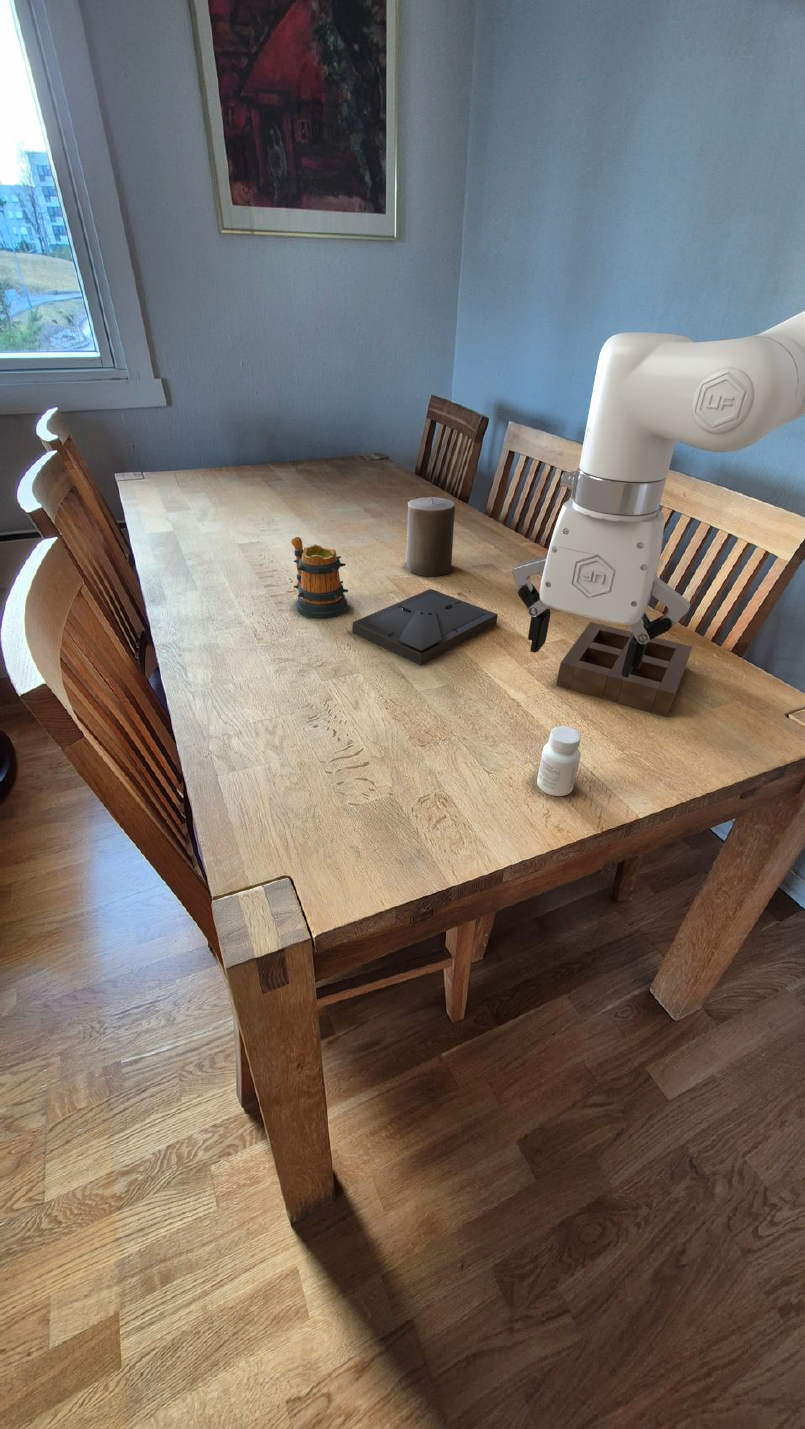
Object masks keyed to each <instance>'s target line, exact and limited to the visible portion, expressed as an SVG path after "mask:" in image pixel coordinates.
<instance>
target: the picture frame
mask: <svg viewBox="0 0 805 1429" xmlns="http://www.w3.org/2000/svg"><path fill="white" fill-rule="evenodd" d="M498 617H499V616H498V613H495V612H493V611H490V610H488V609H485V608H483V607H479V606H477V605H475V604H472V603H469V602H467V601H463V600H461V599H459V598H456V597H453V596H451V595H449V594H445V593H443V592H440V591H438V590H435V589H433V588H429V589H426V590H424V591H422V592H420V593H418V594H415V595H412V596H410V597H408V598H406V599H403V600H401V601H399V602H396V603H393V604H392V605H389V606H386V607H384V608H382V609H380V610H377V611H375V612H372V613H371V614H368V615H366V616H363V617H361V618H359V619H357V620H354V621H352V622H351V628H352V630H351V631H352V632H351V633H352V634H353V635H356V636H357V637H360V638H362V639H364V640H366V641H368V642H371V643H373V644H375V645H376V646H379V647H380V648H383V649H385V650H387V651H390V652H391V653H394V654H395V655H398V656H400V657H401V658H404V659H406V660H408V661H410V662H412V663H415V664H416V665H419V666H423V665H425V664H426V663H427V662H428V663H429V662H430V661H432V660H434V659H435V658H438V657H440V656H441V655H444V653H446V652H449V651H451V650H452V649H454V648H456V647H458V646H460V645H461V644H463V643H465V642H467V641H469V640H471V639H473V638H475V637H476V636H478V635H480V634H483V633H484V632H486V631H488V630H489V629H491V628H494V627H496V626H497V623H498Z"/></svg>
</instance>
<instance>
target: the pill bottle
mask: <svg viewBox="0 0 805 1429" xmlns="http://www.w3.org/2000/svg"><path fill="white" fill-rule="evenodd" d="M581 739H582V736H581V734H580V732H579V731H578V730H576V729H575V728H572V727H571V726H564V725H563V726H561V725H560V726H555V727H554V728H552V729H551V731H550V734H549V737H548V742H546V743H545V744H544V745H543V748H542V752H541V758H540V762H539V768H538V773H537V778H536V783H537V786H538V788H539V789H540V790H541V791H542V792H544V793H546V794H547V795H549V796H551V797H552V796H553V797H563V796H567V795H569V794H571V792H573V789H574V786H575V783H576V779H577V773H578V769H579V766H580V761H581V751H580V749H579V748H580V745H581V744H580V743H581Z"/></svg>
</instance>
